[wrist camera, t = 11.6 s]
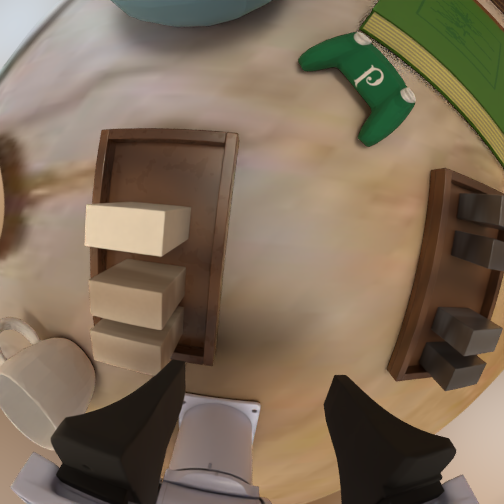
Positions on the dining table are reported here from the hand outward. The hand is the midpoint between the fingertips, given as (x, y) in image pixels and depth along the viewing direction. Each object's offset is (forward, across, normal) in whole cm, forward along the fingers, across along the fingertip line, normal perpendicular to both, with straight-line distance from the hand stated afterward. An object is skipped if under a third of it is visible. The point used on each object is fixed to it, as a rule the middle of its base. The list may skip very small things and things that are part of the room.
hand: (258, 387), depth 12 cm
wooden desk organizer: (+11, -20, -4) cm, 23 cm away
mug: (+10, +20, +9) cm, 24 cm away
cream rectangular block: (+10, +8, -6) cm, 14 cm away
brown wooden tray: (+10, +8, -4) cm, 14 cm away
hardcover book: (+12, -21, -30) cm, 38 cm away
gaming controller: (+11, -6, -19) cm, 23 cm away
